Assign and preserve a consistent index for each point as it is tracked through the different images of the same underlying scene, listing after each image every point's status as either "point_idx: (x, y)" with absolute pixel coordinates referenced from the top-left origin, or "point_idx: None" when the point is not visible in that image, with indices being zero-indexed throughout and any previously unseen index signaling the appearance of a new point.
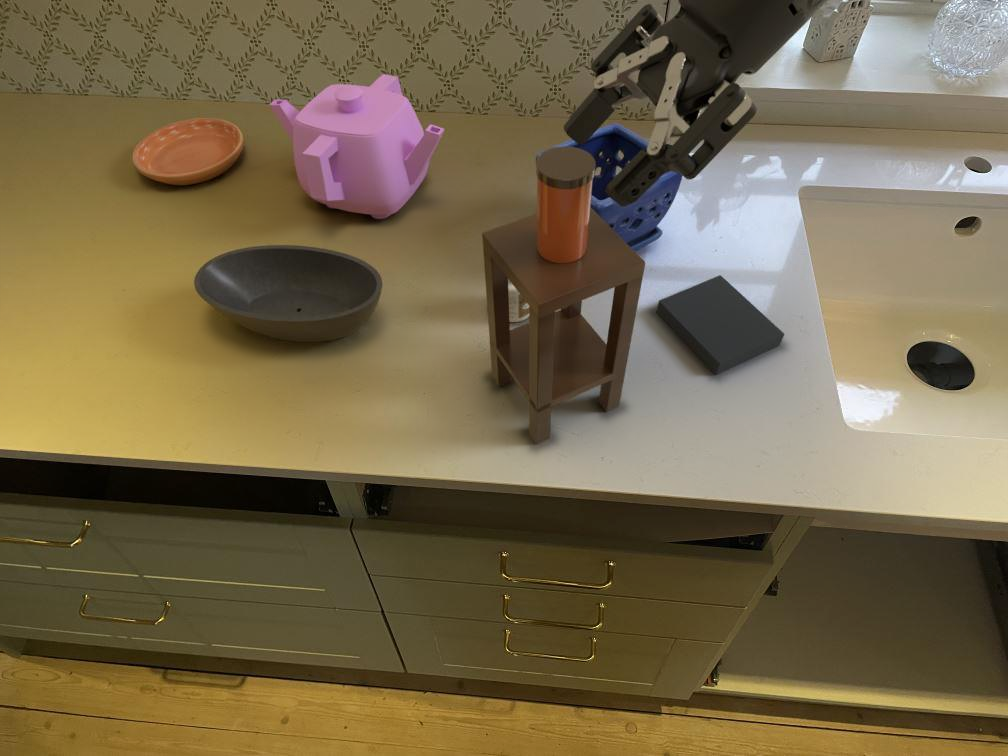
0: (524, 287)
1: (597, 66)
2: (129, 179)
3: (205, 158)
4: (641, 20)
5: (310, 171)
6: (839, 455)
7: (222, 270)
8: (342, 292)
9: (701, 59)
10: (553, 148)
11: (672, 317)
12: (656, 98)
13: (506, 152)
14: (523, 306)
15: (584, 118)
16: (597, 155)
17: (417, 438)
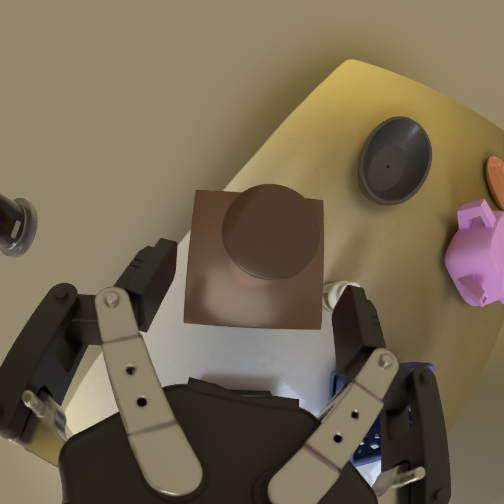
0: (225, 191)
1: (419, 375)
2: (490, 156)
3: (499, 190)
4: (429, 483)
5: (474, 202)
6: (112, 396)
7: (420, 138)
8: (391, 192)
9: (131, 501)
10: (318, 236)
11: (252, 394)
12: (197, 391)
13: (458, 368)
14: (323, 297)
15: (350, 316)
16: (411, 419)
17: (261, 182)
